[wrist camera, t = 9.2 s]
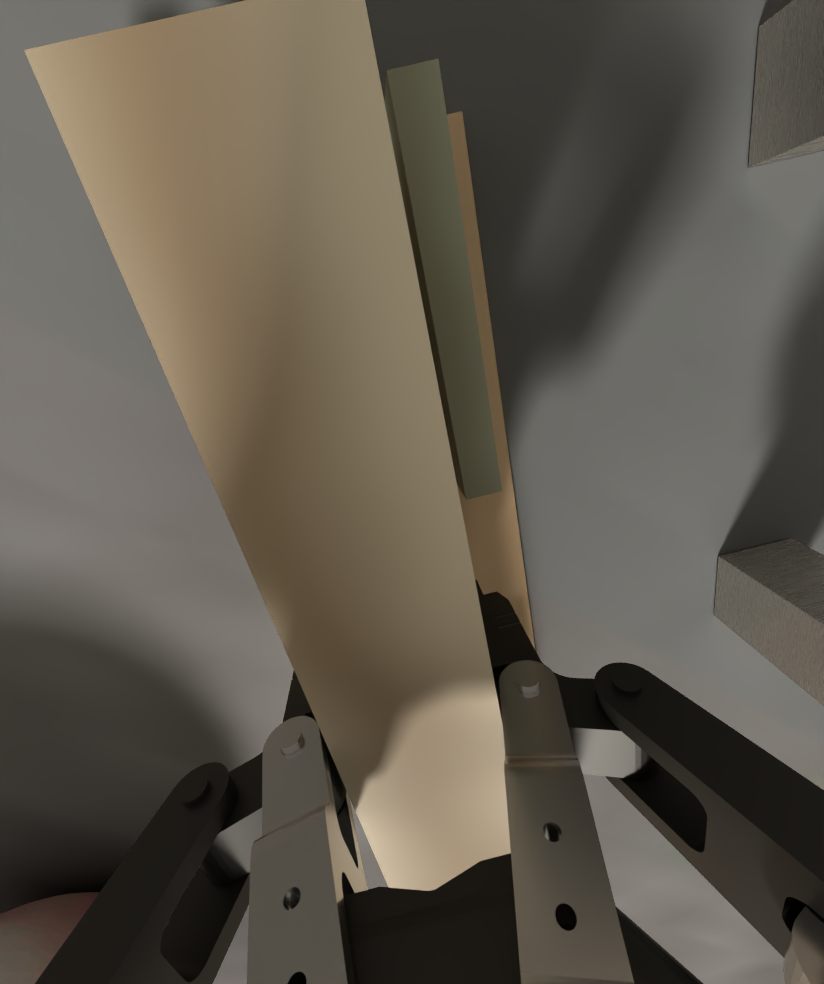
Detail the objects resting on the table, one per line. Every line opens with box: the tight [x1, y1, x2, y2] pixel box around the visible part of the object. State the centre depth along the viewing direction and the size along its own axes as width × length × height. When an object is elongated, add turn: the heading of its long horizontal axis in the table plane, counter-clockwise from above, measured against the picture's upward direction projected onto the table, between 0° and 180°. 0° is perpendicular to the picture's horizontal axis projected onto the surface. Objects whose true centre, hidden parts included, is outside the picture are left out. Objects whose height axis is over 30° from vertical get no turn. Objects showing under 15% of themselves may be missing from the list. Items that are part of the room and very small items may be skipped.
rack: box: [384, 58, 535, 649], centre depth 14 cm, size 9×26×3 cm, turn 12°
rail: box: [24, 0, 511, 891], centre depth 11 cm, size 4×24×5 cm, turn 12°
